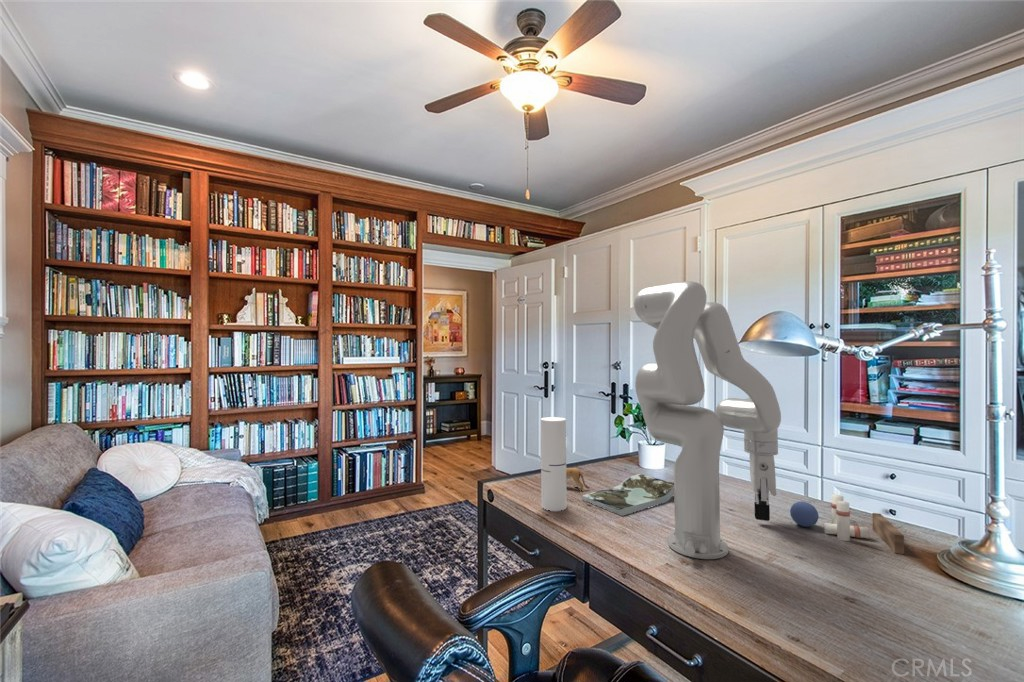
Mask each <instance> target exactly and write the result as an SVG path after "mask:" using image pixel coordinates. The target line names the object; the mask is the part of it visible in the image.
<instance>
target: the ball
mask: <svg viewBox="0 0 1024 682" xmlns="http://www.w3.org/2000/svg"><path fill="white" fill-rule="evenodd" d="M789 512H790V513H789V515H790V517H791V519H792V520H793V521H794V522H795V523H796V524H797V525H799V526H800V527H804V528H808V527H809V528H810V527H813V526H815V525H816V524H817V522H818V521H819V512H818V510H817V508H816V507H815V506H814V505H812V504H811V503H810V502H808V501H803V500H800V501H796V502H794V503H793V504H792V505H791V507H790V510H789Z"/></svg>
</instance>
